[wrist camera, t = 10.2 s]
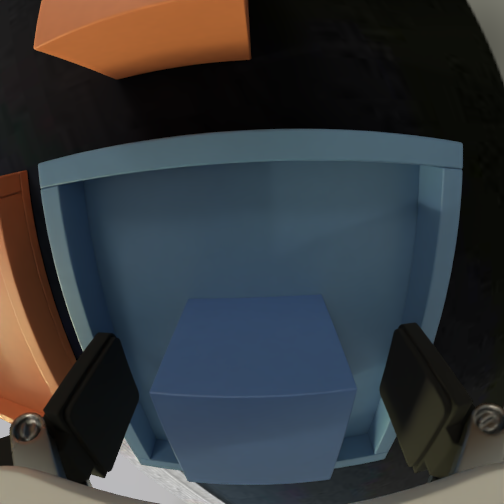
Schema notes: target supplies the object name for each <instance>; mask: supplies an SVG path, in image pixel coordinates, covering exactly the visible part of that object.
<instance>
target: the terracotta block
mask: <svg viewBox="0 0 504 504" xmlns="http://www.w3.org/2000/svg"><path fill="white" fill-rule="evenodd" d="M34 49H35V50H38V51H41V52H44V53H47V54H50V55H53V56H56V57H59V58H62V59H65V60H67V61H70V62H73V63H76V64H78V65H81V66H84V67H86V68H89V69H92V70H94V71H97V72H99V73H102V74H104V75H107V76H109V77H112V78H114V79H117V80H118V79H122V78H126V77H130V76H134V75H139V74H144V73H148V72H153V71H159V70H164V69H170V68H176V67H182V66H189V65H197V64H205V63H214V62H225V61H238V60H250V59H251V45H250V27H249V10H248V0H42V2H41V7H40V12H39V17H38V22H37V28H36V34H35V41H34Z"/></svg>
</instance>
